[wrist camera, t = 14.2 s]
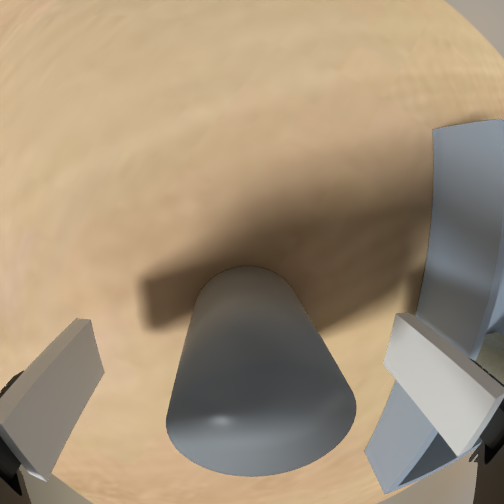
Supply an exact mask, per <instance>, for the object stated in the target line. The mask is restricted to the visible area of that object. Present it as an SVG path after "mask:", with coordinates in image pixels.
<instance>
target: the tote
mask: <svg viewBox="0 0 504 504" xmlns="http://www.w3.org/2000/svg"><path fill="white" fill-rule="evenodd" d="M432 130H433V153H434V180H433V203H432V217H431V228H430V237H429V245H428V253H427V260H426V266H425V272H424V277H423V283H422V288H421V293H420V298H419V302H418V307H417V311H416V315H415V317H416V318H417V319H419V320H420V321H421V322H423V323H424V324H425V325H427V326H428V327H429V328H431V329H432V330H433V331H434V332H436V333H437V334H438V335H440V336H441V337H442V338H444V339H445V340H446V341H447V342H449V343H450V344H451V345H453V346H454V347H455V348H456V349H458V350H459V351H460V352H461V353H463V354H464V355H465V356H466V357H468V358H470V359H472V360H474V361H476V359H477V356H478V354H479V351H480V349H481V346H482V343H483V341H484V338H485V335H486V334H490V333H494V332H499V333H500V334H502V335H504V120H502V119H494V120H486V121H479V122H472V123H466V124H460V125H454V126H448V127H442V128H437V129H432ZM481 442H482V440H481V438H480V437H479V438H478V440H477V441H476V442H475V444H474V445H473V447H472V448H471V449H469V450H468V451H466V452H465V453H463V454H462V455H460V456H458V457H457V456H456V454H455V453H454V452H453V450H452V449H451V448H450V446H449V445H448V444H447V443H446V441H445V440H444V439H443V437H442V436H441V435H440V434H439V432H438V431H437V430H436V429H435V427H434V426H433V425H432V423H431V422H430V421H429V420H428V418H427V417H426V416H425V415H424V413H423V412H422V411H421V410H420V408H419V407H418V406H417V405H416V404H415V402H414V401H413V400H412V399H411V397H410V396H409V395H408V394H407V392H406V391H405V390H404V389H403V388H402V386H401V385H400V384H399V383H398V382H397V380H396V381H395V384H394V386H393V389H392V391H391V394H390V397H389V399H388V401H387V404H386V406H385V409H384V411H383V413H382V416H381V418H380V420H379V422H378V425H377V427H376V429H375V431H374V433H373V435H372V437H371V439H370V441H369V443H368V445H367V447H366V449H365V451H364V452H365V454H366V456H367V458H368V460H369V462H370V464H371V467H372V469H373V471H374V473H375V475H376V477H377V479H378V481H379V483H380V486H381V488H382V490H383V492H384V494H387V493H390V492H392V491H395V490H398V489H400V488H402V487H405V486H407V485H409V484H412V483H414V482H416V481H418V480H420V479H423V478H425V477H426V476H429V475H431V474H433V473H435V472H437V471H438V470H440V469H442V468H444V467H446V466H448V465H449V464H451V463H453V462H455V461H456V460H458V459H460V458H461V457H463V456H464V455H466V454H468V453H469V452H471V451H472V450H474V449H476V448H477V447H478V446H479V445H480V444H481Z"/></svg>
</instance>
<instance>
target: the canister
mask: <svg viewBox="0 0 504 504" xmlns="http://www.w3.org/2000/svg"><path fill="white" fill-rule="evenodd" d="M355 415H356V400H355V397H354V394H353V392H352V390H351V388H350V387H349V385H348V383H347V381H346V380H345V378H344V376H343V374H342V373H341V371H340V369H339V367H338V366H337V364H336V362H335V360H334V359H333V357H332V355H331V353H330V352H329V350H328V348H327V346H326V345H325V343H324V341H323V340H322V338H321V336H320V334H319V333H318V331H317V329H316V328H315V326H314V324H313V322H312V321H311V319H310V317H309V316H308V314H307V312H306V310H305V309H304V307H303V305H302V304H301V302H300V300H299V299H298V297H297V295H296V293H295V292H294V290H293V289H292V287H291V286H290V285H289V283H288V282H287V281H286V280H285V279H283V278H282V277H281V276H279V275H278V274H276V273H274V272H272V271H270V270H268V269H264V268H261V267H255V266H241V267H235V268H231V269H228V270H225V271H223V272H221V273H219V274H218V275H216V276H214V277H213V278H212V279H211V280H209V281H208V282H207V283H206V284H205V286H204V287H203V288H202V290H201V291H200V293H199V295H198V297H197V299H196V302H195V306H194V309H193V313H192V316H191V320H190V324H189V328H188V331H187V335H186V339H185V343H184V347H183V350H182V354H181V358H180V362H179V366H178V370H177V374H176V379H175V383H174V387H173V391H172V395H171V400H170V404H169V408H168V413H167V417H166V428H167V433H168V435H169V438H170V440H171V442H172V443H173V445H174V446H175V447H176V448H177V450H178V451H179V452H180V453H181V454H183V455H184V456H185V457H186V458H188V459H189V460H191V461H192V462H194V463H196V464H198V465H200V466H202V467H204V468H206V469H209V470H212V471H215V472H219V473H223V474H228V475H235V476H249V477H253V476H268V475H275V474H280V473H284V472H288V471H292V470H295V469H298V468H301V467H303V466H306V465H308V464H310V463H312V462H314V461H316V460H318V459H319V458H321V457H323V456H324V455H326V454H327V453H328V452H330V451H331V450H332V449H334V448H335V447H336V446H337V445H338V444H339V443H340V442H341V441H342V440H343V439H344V437H345V436H346V435H347V433H348V432H349V430H350V429H351V426H352V424H353V422H354V419H355Z"/></svg>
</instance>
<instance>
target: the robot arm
mask: <svg viewBox="0 0 504 504" xmlns="http://www.w3.org/2000/svg"><path fill="white" fill-rule="evenodd" d="M383 365H384V366H385V367H386V368H387V369H388V371H389V372H390V373H391V374H392V375H393V377H394V378H395V379H396V380H397V382H398V383H399V384H400V385H401V386H402V388H403V389H404V390H405V391H406V392H407V394H408V395H409V396H410V397H411V399H412V400H413V401H414V402H415V404H416V405H417V406H418V407H419V408H420V410H421V411H422V412H423V413H424V415H425V416H426V417H427V418H428V420H429V421H430V422H431V423H432V425H433V426H434V427H435V429H436V430H437V431H438V432H439V434H440V435H441V436H442V437H443V439H444V440H445V441H446V443H447V444H448V445H449V446H450V448H451V449H452V450H453V452H454V453H455V454H456V456H457V457H458V456H460V455H462V454H463V453H465V452H466V451H468V450H469V449H471V448H472V447H473V445H474V444H475V442H476V441H477V440H478V438H479V437H480V438H481V439H482V442H481V444H480V445H479V446H478V448H477V449H476V450H475V452H474V453H473V454H472V456H471V457H470V459H469V462H471V461H472V460H473V459H474V457H475V456H476V455H477V454H478V457H477V458H476V459H475V461H474V462H478V470H477V479H476V488H475V495H474V501H473V504H504V385H503V384H502V383H501V382H500V381H499V380H498V379H496V378H495V377H494V376H493V375H492V374H489V373H488V371H487V370H485V369H484V368H483V369H482V366H481V365H479V364H478V363H477V362H476V361H474V360H472V359H470V358H468V357H466V356H465V355H464V354H463V353H461V352H460V351H459V350H458V349H456V348H455V347H454V346H453V345H451V344H450V343H449V342H447V341H446V340H445V339H444V338H442V337H441V336H440V335H438V334H437V333H436V332H434V331H433V330H432V329H431V328H429V327H428V326H427V325H425V324H424V323H423V322H421V321H420V320H419V319H417V318H416V317H415V316H413V315H412V314H411V313H409V312H405V313H398V314H396V315H395V319H394V324H393V328H392V332H391V337H390V341H389V345H388V348H387V352H386V356H385V359H384V363H383ZM104 373H105V372H104V369H103V365H102V362H101V359H100V355H99V351H98V348H97V344H96V340H95V336H94V332H93V328H92V323H91V320H88V319H78V318H76V319H75V320H74V321H73V322H72V323H71V324H70V325H69V326H68V327H67V328H66V329H65V330H64V331H63V332H62V333H61V334H60V335H59V336H58V337H57V338H56V339H55V340H54V341H53V342H52V343H51V344H50V345H49V346H48V347H47V348H46V349H45V350H44V351H43V352H42V353H41V354H40V355H39V356H38V357H37V358H36V359H35V360H34V361H33V362H32V363H31V365H30V366H29V367H28V368H27V369H26V370H25V371H22V372H20V373H19V374H17V375H15V376H14V377H13V378H12V379H11V380H10V381H9V382H8V383H7V384H6V386H4V388H3V389H2V390H1V393H0V504H31V501H30V499H29V495H28V493H27V489H26V486H25V482H24V479H23V475H22V473H21V471H20V470H19V469H18V468H19V467H20V465H21V464H22V465H23V466H24V468H25V469H26V470H27V471H28V472H29V473H30V474H32V475H33V476H35V477H37V478H40V479H42V480H44V481H46V482H47V481H48V479H49V477H50V474H51V472H52V470H53V468H54V466H55V464H56V462H57V460H58V458H59V455H60V453H61V451H62V449H63V447H64V445H65V443H66V441H67V440H68V438H69V436H70V434H71V432H72V430H73V428H74V426H75V424H76V422H77V420H78V419H79V417H80V415H81V413H82V411H83V409H84V408H85V406H86V404H87V402H88V400H89V399H90V397H91V395H92V393H93V392H94V390H95V388H96V386H97V385H98V383H99V381H100V380H101V378H102V376H103V374H104Z"/></svg>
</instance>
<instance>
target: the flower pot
mask: <svg viewBox="0 0 504 504" xmlns="http://www.w3.org/2000/svg"><path fill="white" fill-rule="evenodd" d="M476 362H477V363H478V364H479V365H481V366H482V369H483V368H484V369H485V370H487V371H488V373H489V374H492V375H493V376H494V377H495V378H496V379H498V380H499V381H500V382H501V383H502V384H503V385H504V335H502V334H500V333H499V332H494V333H490V334H486V335H485V338H484V341H483V343H482V346H481V349H480V351H479V354H478V356H477V359H476ZM481 440H482V439H481Z"/></svg>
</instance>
